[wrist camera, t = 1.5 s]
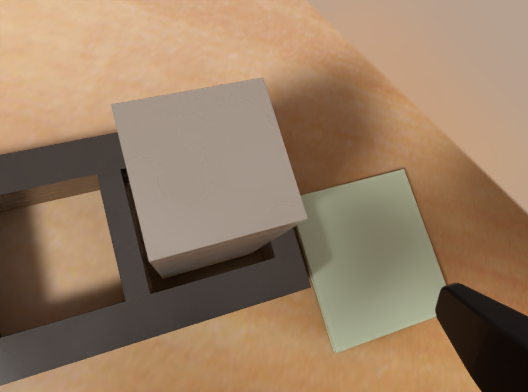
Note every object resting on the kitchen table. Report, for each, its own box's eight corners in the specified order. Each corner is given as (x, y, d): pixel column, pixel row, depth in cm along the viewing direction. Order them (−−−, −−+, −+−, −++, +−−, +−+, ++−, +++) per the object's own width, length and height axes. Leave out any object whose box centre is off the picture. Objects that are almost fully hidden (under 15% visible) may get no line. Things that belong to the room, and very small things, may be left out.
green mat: (450, 309, 23) (455, 309, 22) (333, 352, 21) (336, 353, 21) (400, 171, 24) (404, 168, 24) (286, 200, 22) (288, 198, 22)
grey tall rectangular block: (249, 254, 21) (307, 218, 12) (163, 278, 20) (148, 261, 11) (227, 172, 22) (263, 77, 12) (141, 192, 21) (111, 104, 11)
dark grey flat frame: (296, 288, 21) (311, 287, 19) (-23, 388, 18) (-55, 403, 15) (247, 125, 23) (255, 105, 20) (-56, 187, 19) (-89, 172, 17)
